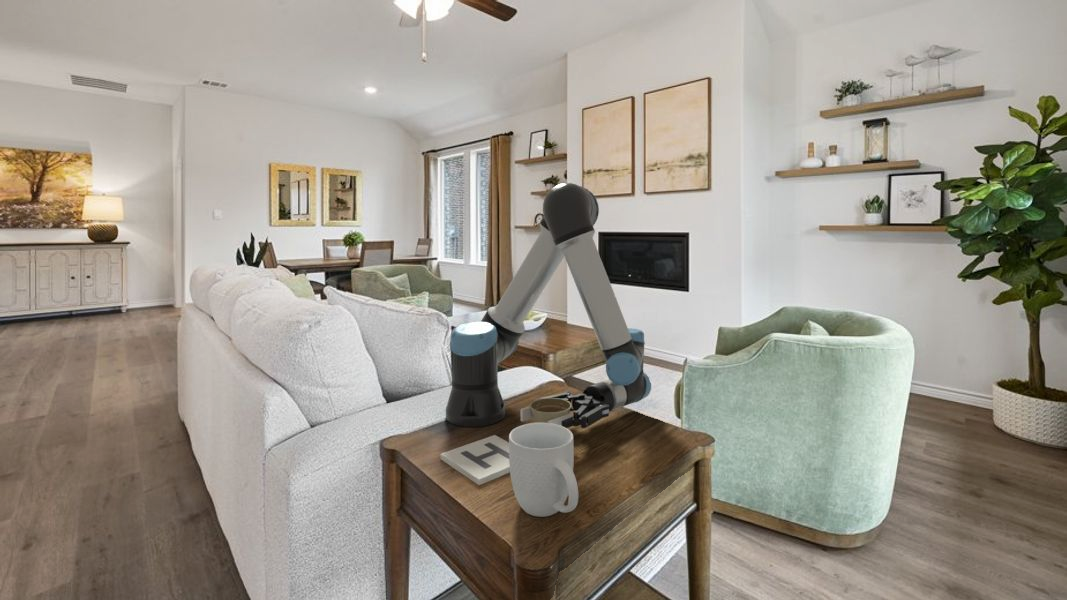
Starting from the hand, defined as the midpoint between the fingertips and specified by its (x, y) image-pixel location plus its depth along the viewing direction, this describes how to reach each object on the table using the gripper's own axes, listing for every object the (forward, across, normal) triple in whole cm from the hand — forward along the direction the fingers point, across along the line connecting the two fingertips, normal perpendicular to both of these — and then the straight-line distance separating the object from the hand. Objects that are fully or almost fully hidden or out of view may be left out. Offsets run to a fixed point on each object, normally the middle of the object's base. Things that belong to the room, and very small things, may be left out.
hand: (534, 421), depth 106 cm
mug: (+14, -19, -6) cm, 25 cm away
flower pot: (-5, 0, -6) cm, 8 cm away
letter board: (+11, +2, -6) cm, 13 cm away
